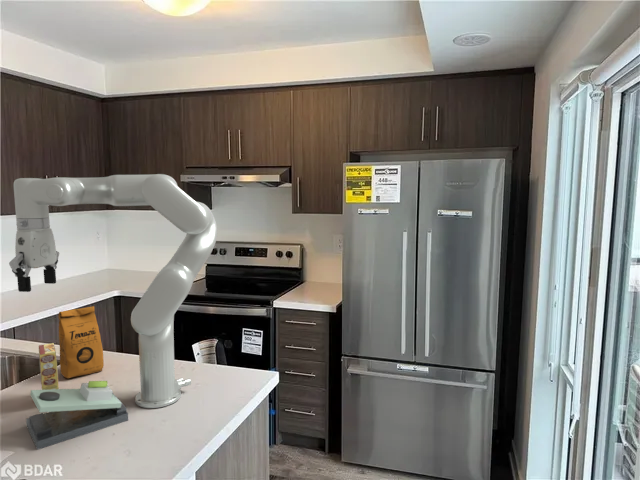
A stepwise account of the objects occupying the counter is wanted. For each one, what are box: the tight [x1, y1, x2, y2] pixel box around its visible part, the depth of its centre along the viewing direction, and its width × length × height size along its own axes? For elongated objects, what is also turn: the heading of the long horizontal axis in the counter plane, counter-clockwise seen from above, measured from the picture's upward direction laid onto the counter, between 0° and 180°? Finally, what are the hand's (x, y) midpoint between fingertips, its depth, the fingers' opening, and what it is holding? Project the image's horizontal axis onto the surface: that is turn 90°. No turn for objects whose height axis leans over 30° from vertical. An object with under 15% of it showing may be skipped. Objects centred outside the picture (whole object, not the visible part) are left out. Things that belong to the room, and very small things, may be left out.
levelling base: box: [25, 401, 129, 450], centre depth 121 cm, size 21×14×3 cm, turn 131°
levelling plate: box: [29, 380, 123, 413], centre depth 120 cm, size 20×12×5 cm, turn 132°
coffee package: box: [57, 305, 105, 379], centre depth 151 cm, size 10×12×22 cm
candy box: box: [38, 342, 60, 390], centre depth 133 cm, size 9×4×15 cm, turn 33°
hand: (38, 287), depth 125 cm, fingers open, 9 cm apart
